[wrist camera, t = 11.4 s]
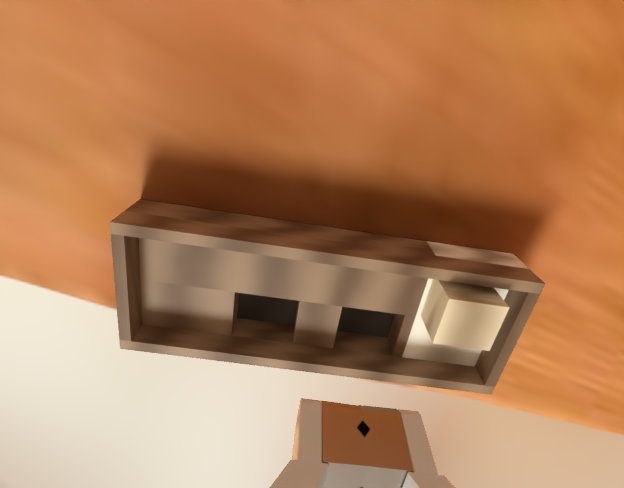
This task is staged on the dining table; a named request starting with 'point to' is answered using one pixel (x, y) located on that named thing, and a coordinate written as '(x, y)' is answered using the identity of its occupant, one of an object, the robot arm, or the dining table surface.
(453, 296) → the birch block
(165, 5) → the dining table surface
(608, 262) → the dining table surface
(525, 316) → the trap channel
